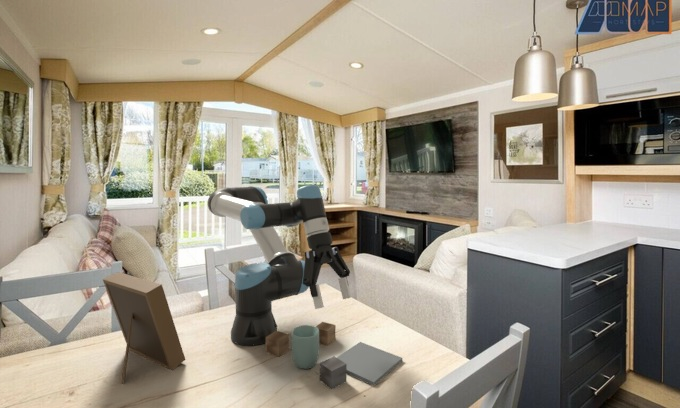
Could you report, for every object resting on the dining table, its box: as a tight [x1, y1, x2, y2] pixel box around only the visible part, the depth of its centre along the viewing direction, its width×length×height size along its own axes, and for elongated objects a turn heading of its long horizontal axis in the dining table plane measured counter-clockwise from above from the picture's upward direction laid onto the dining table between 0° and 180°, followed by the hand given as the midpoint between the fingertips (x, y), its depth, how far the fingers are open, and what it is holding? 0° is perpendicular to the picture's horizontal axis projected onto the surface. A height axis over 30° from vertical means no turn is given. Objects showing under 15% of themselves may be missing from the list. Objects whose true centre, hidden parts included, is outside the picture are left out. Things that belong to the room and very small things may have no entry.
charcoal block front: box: [319, 356, 347, 390], centre depth 91 cm, size 5×5×5 cm
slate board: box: [335, 341, 403, 387], centre depth 99 cm, size 15×15×1 cm
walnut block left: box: [315, 321, 336, 347], centre depth 112 cm, size 5×5×5 cm
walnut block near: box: [265, 330, 290, 358], centre depth 106 cm, size 5×5×5 cm
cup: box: [290, 324, 320, 370], centre depth 98 cm, size 8×8×10 cm
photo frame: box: [102, 271, 186, 385], centre depth 97 cm, size 15×22×25 cm
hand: (334, 303), depth 103 cm, fingers open, 13 cm apart
